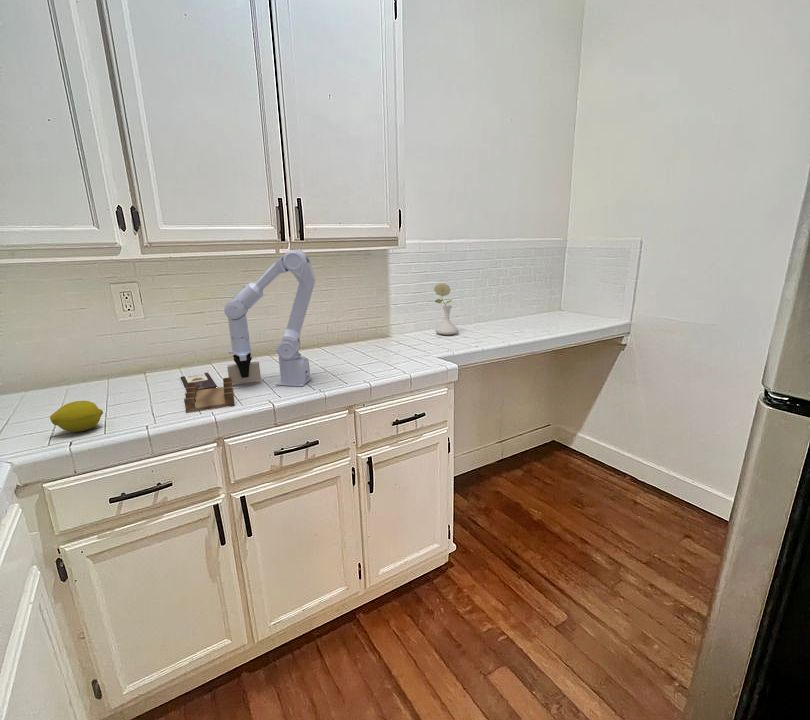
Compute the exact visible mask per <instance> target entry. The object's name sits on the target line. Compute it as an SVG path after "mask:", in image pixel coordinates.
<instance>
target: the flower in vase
mask: <svg viewBox="0 0 810 720" xmlns="http://www.w3.org/2000/svg"><path fill="white" fill-rule="evenodd" d="M433 291H434V292H435V294H436V295H438V296H441V297H445V296H449V295H450V292H451V291H452V290H451V287H450V286H449V284H447V283H445V282H444V283H443V282H438V284H436V285H434V288H433ZM451 301H453V298H452V299H448V300H446V301H445V302H444V300H443V298H441V299H440V298H437V299H435V300H434V303H437V304H441V303H442V302H443V305H442V306H441V307H442V309H443V312H444V321H443V322H441V324H438V326H437V327H436V328H435V331H434V332H435V333H437V334H439V335H446V336H450V335H455V334H457V333H459V329H458V327H457V326H456V325H455V324H453V323H452V322H451V321H450V313H451V310H452V308H453V305H447V304H449V303H451Z"/></svg>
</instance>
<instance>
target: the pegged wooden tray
mask: <svg viewBox="0 0 810 720" xmlns="http://www.w3.org/2000/svg"><path fill="white" fill-rule="evenodd" d="M222 380H223V381H222V382H223V383H222V385H223V386H221V387H220V386H219V387H217V388H211V389H204V390H197V386H196V382H189V383H187V386H188V387H187V388H186V389H185V390H186V392H185V393H184V395H185V398H184V399H183V401H184V408H185V413H186V414H188V413H193V412H201V411H205V410H207V409H208V410H213V409H220V408H221V409H222V408H228V407H234V406H235V405H236V404H235V397H234V387H233V384H232V380H231V377H229V376H228V377H223V378H222Z"/></svg>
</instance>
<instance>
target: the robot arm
mask: <svg viewBox="0 0 810 720" xmlns="http://www.w3.org/2000/svg"><path fill="white" fill-rule="evenodd" d="M287 272H290V273H291V274H292V275H294V277H295V279H296V281H297V282H298V286H297V289H296V293H295V297H294V300H293V304H292V307H291V311H290V314H289V318H288V322H287V325H286V328H285V331H284V333H283V335H282V340H281V341H280V342H279V343H278V344H277V346H276V353H277V355H278V363H279V364H278V365H279V373H280V380H279V381H278V382H277V383H276V384H275V385H276V386H288V387H290V386H291V387H303V386H305V385H306V384H307V383H309V381H310V380H312V377H311V371H310V370H311V368H310V367H311V366H310V360H309V359H308V358H307V357H303V356H302V355H301V352H299V349H300V348H301V341H300V339H301V338H300V337H301V332H302V328H303V325H304V323H305V318H306V314H307V312H308V308H309V305H310V300H311V297H312V294H313V290H314V289H315V285H316V284H315V283H316V276H315V274H314V270H313V267H312V263H311V259H310V258H309V256H308V255H307V254H306V253H305V251H304V250H301V249H292V250H288V251H287V252H285V254H284V255H283V256H281V257H279V258H278V259H276V260H275V261H274V262H273V263H272V264H271V265H270V266H269V267H268V269H267V270H266V271H265V272H264V273H263V274H262V275H261V276H260V277H259V278H258V280H256V282H249V283H245V284H243V286H242V289H241V291H239V292H238V294H237V295H233V296H232V300H231V301H228V302H227V303H226V304H225V306H224V315H225V316H226V317H227V319H228V329H229V337H230V344H231V349H229V350H228V354H232V357H233V361H234V363H235V364H237V366H238V368H239V371H240V375H241V377H242V378H246V377H248V376H249V366H250V362H251V361H252V359H253V358H252V354H251V352H252V348H251V343H250V342H251V340H250V335H249V327H248V326H249V325H248V321H247V320H248V319H247V314H248V310H251V308H252V307H254V305H255V304H256V303H257V302H259V300H260V299H261V298H263V297H264V289H265V288H266V287H268V286H269V285H270V284H271V283H273V281H274V280H275V279H276V278H277V277H278V276H279V275H280V274H284V273H287Z"/></svg>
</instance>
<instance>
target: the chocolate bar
mask: <svg viewBox="0 0 810 720" xmlns="http://www.w3.org/2000/svg"><path fill="white" fill-rule="evenodd" d="M180 381H181V382H182V384H183V386H184V388H187V387H188V386H187V383H189V382H196V386H197V390H204V389H211V388H216V387H217V388H218V386H217V384H216V383H215V381H214V379H213V378H212V377H211V375H210V373H209V372H208V371H207V372H201V373H196V374H191V375H184V376H183V375H182V376H180Z"/></svg>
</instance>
